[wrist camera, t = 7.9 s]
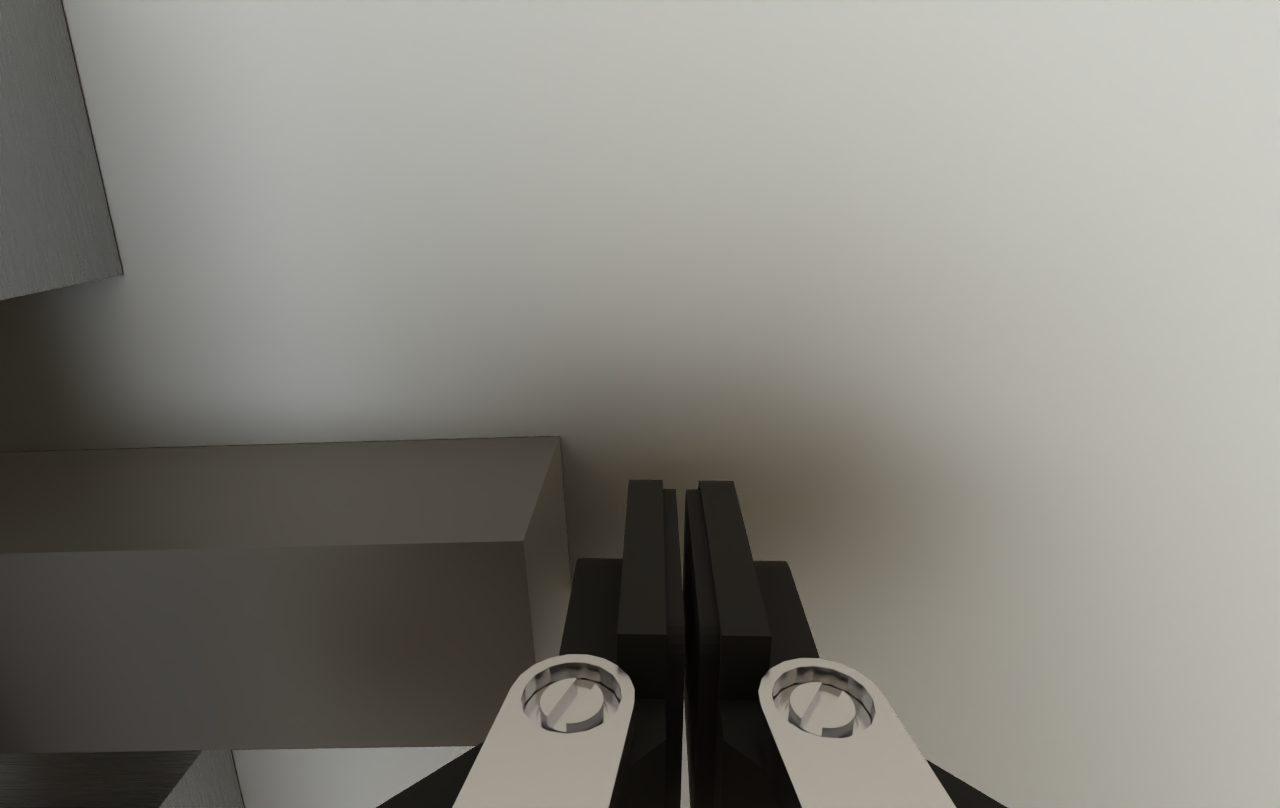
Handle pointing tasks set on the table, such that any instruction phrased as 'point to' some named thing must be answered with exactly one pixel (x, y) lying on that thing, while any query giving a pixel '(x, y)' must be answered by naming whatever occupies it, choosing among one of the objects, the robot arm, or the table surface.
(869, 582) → the table surface
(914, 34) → the table surface
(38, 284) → the grey slotted block
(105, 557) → the grey and orange bar
